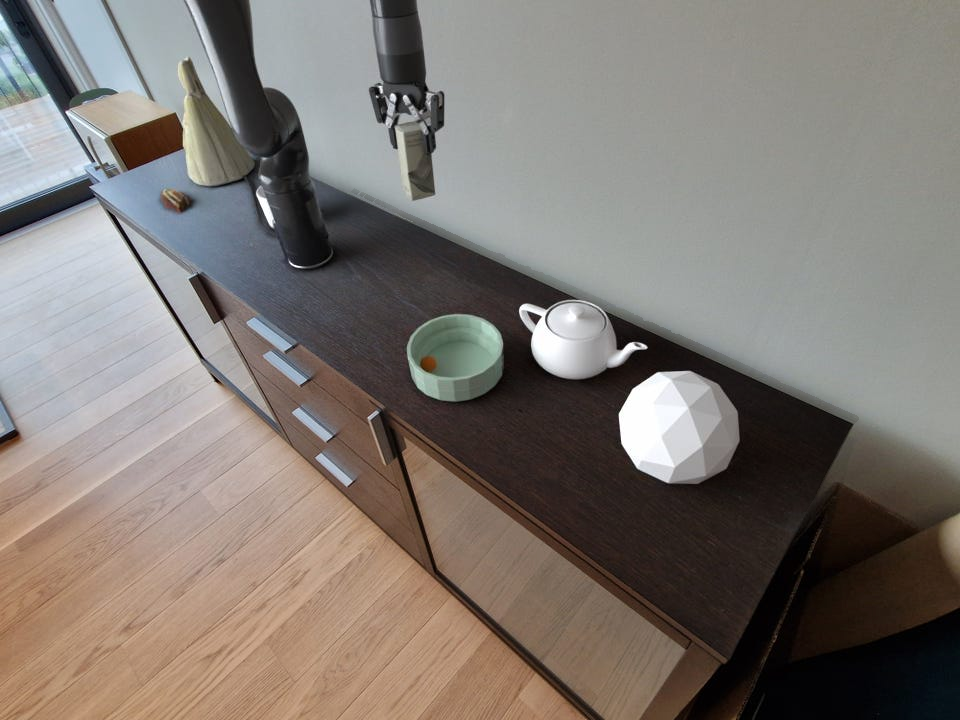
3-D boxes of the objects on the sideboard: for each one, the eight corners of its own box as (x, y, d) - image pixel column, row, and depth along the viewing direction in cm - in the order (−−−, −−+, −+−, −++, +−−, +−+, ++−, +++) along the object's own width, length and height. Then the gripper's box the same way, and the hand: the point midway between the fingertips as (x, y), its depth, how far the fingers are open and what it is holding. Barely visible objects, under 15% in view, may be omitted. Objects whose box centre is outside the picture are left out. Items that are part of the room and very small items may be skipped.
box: (411, 202, 99) (401, 133, 90) (403, 193, 102) (392, 125, 93) (437, 195, 101) (429, 126, 91) (428, 186, 103) (420, 118, 94)
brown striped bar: (150, 197, 137) (147, 191, 136) (171, 189, 140) (168, 183, 139) (177, 214, 130) (173, 207, 129) (197, 205, 133) (194, 198, 132)
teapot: (498, 358, 89) (496, 309, 81) (540, 314, 96) (542, 265, 89) (618, 415, 79) (629, 365, 71) (655, 361, 86) (668, 310, 79)
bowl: (394, 385, 86) (388, 361, 82) (441, 328, 95) (438, 304, 91) (476, 416, 80) (474, 392, 76) (518, 353, 89) (518, 328, 86)
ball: (416, 357, 85) (419, 366, 87) (423, 368, 84) (426, 377, 86) (430, 350, 86) (433, 359, 88) (438, 361, 85) (440, 370, 87)
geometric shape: (641, 494, 75) (588, 458, 66) (658, 398, 81) (611, 352, 71) (748, 508, 65) (704, 468, 56) (760, 398, 71) (721, 344, 61)
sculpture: (212, 150, 153) (205, 45, 131) (266, 182, 153) (269, 82, 131) (167, 174, 142) (151, 64, 120) (225, 208, 142) (220, 105, 120)
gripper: (450, 43, 83) (458, 148, 95) (376, 36, 88) (392, 136, 100) (425, 56, 78) (437, 165, 90) (348, 48, 84) (369, 152, 95)
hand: (413, 150), depth 95 cm, fingers closed on box, 6 cm apart
